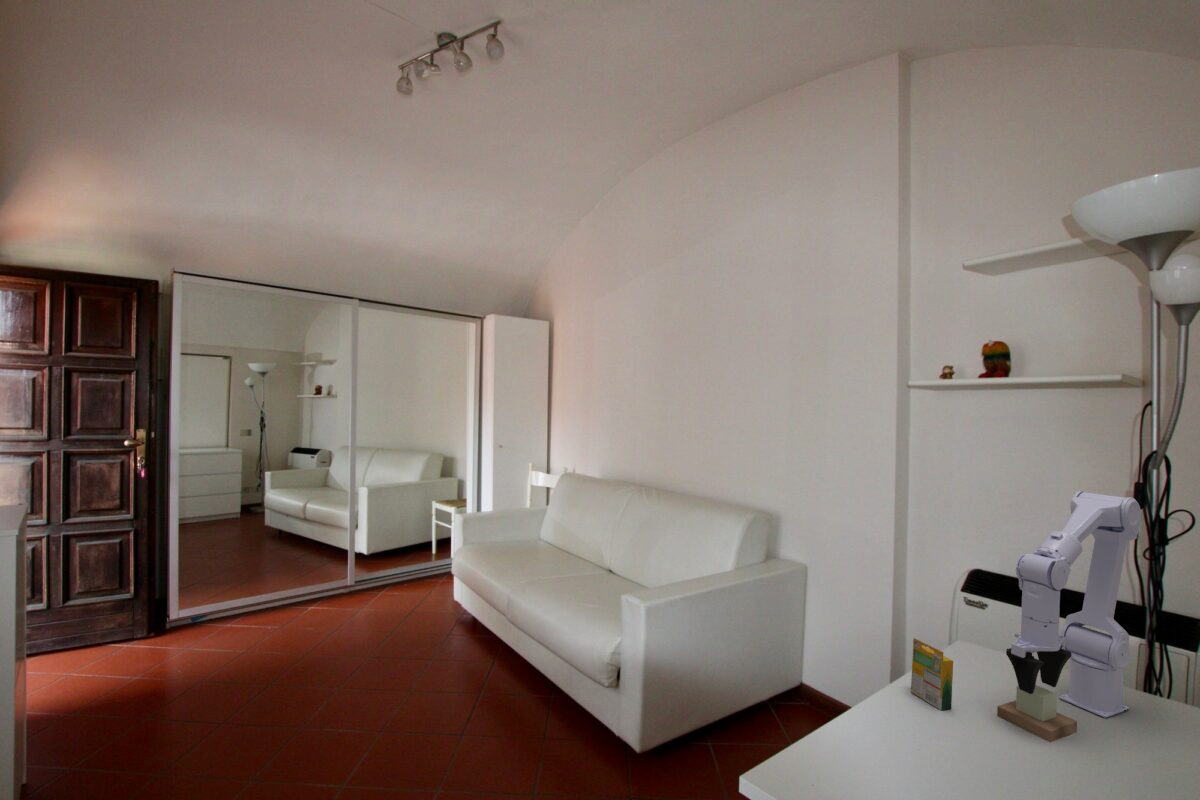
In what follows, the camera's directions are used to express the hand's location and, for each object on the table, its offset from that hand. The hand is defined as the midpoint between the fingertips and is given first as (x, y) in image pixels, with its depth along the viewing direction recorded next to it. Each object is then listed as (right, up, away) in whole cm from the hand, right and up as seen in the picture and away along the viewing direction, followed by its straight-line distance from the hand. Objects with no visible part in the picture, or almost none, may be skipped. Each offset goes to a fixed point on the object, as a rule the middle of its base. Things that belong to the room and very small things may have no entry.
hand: (1037, 687), depth 106 cm
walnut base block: (0, -7, 0) cm, 7 cm away
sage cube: (0, -5, 0) cm, 5 cm away
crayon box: (-17, -6, +7) cm, 19 cm away
